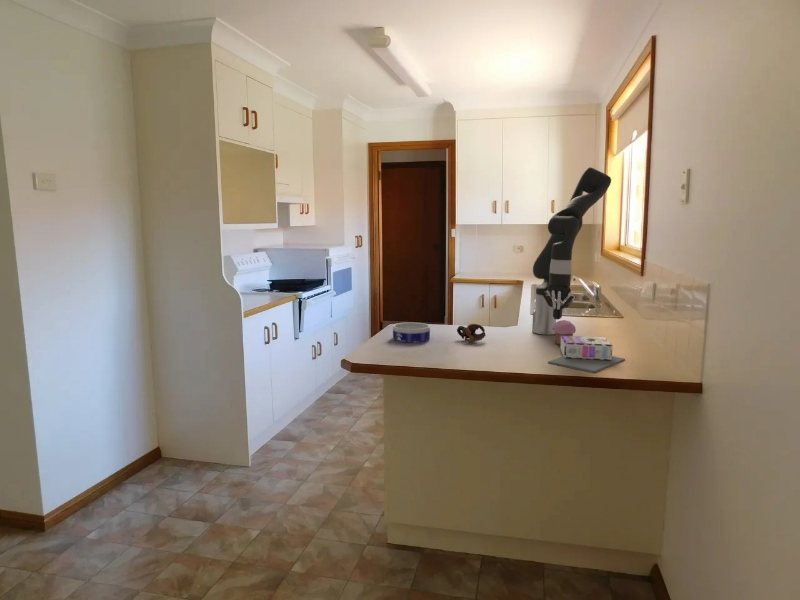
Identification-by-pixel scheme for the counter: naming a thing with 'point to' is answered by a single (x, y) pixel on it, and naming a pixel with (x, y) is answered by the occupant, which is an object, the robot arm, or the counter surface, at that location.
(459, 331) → the brown curled figurine
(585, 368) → the mat
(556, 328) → the cupcake
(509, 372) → the counter surface
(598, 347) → the candy box
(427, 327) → the dog bowl
